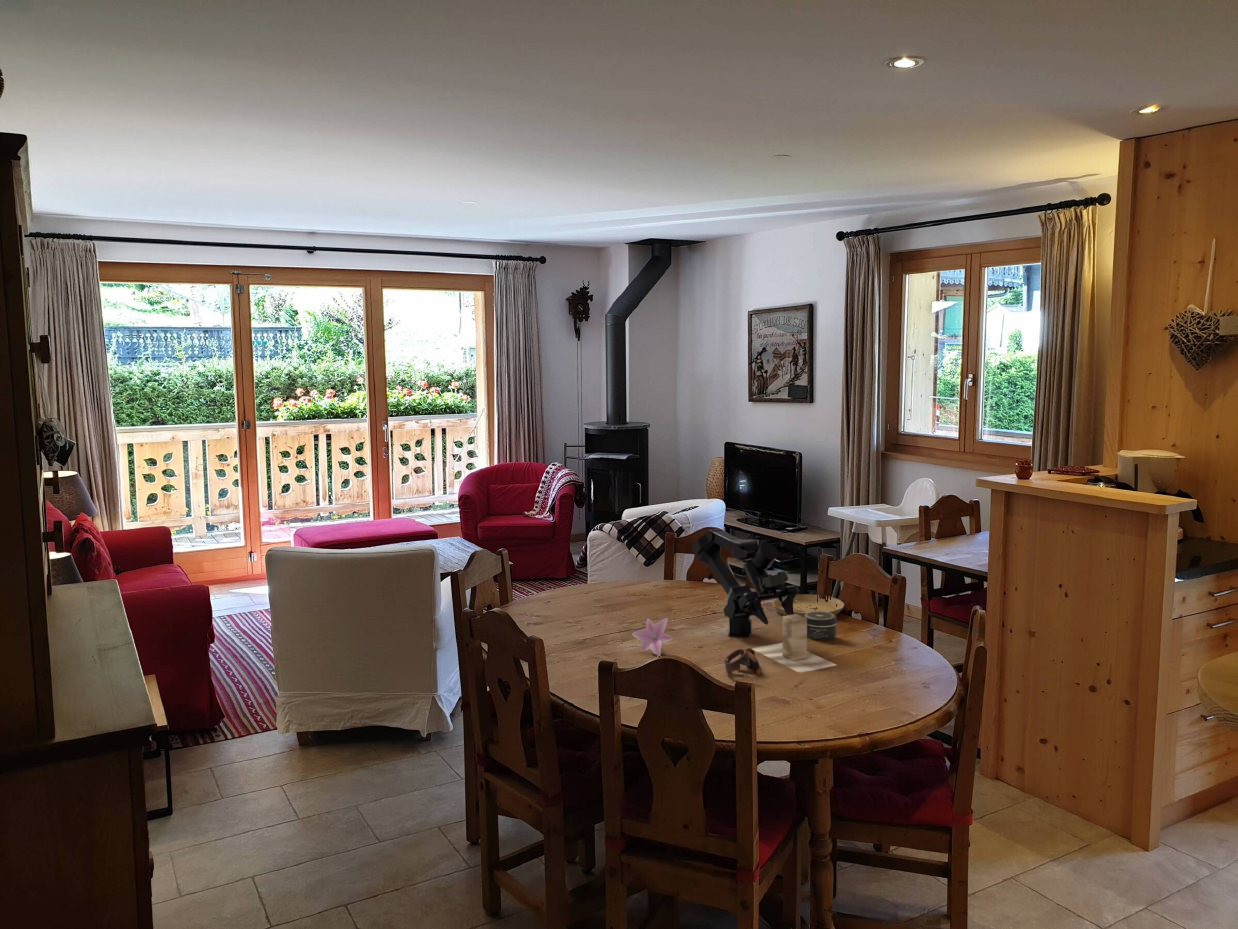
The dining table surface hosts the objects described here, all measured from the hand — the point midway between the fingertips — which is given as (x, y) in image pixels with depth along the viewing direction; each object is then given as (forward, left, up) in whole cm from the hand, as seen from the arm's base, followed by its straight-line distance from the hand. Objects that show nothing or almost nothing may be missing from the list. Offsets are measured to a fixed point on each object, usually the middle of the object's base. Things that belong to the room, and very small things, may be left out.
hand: (780, 621), depth 268 cm
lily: (-38, -4, -10) cm, 39 cm away
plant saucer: (+6, +47, -10) cm, 48 cm away
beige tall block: (+5, -5, -9) cm, 11 cm away
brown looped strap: (-8, -18, -10) cm, 23 cm away
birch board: (+4, -5, -10) cm, 12 cm away
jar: (+11, +17, -10) cm, 23 cm away
